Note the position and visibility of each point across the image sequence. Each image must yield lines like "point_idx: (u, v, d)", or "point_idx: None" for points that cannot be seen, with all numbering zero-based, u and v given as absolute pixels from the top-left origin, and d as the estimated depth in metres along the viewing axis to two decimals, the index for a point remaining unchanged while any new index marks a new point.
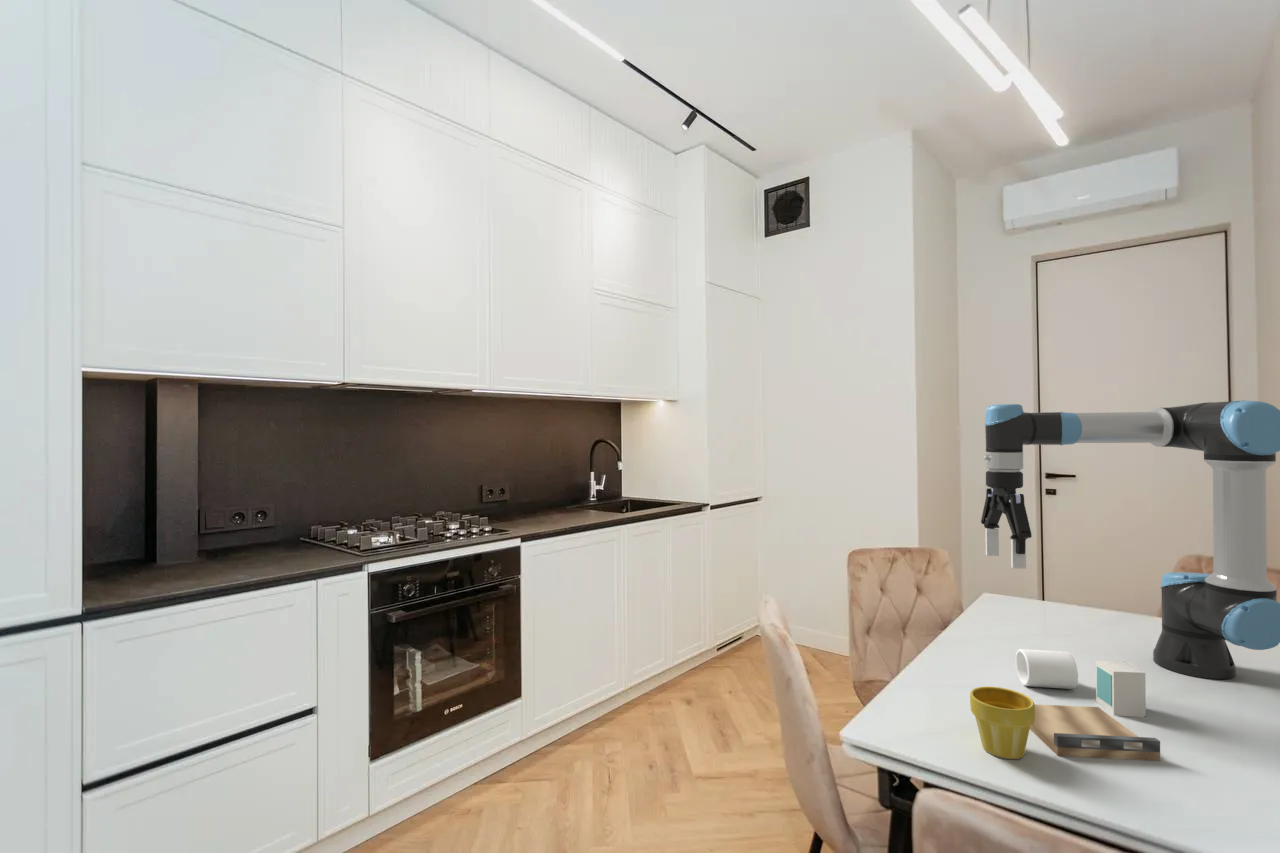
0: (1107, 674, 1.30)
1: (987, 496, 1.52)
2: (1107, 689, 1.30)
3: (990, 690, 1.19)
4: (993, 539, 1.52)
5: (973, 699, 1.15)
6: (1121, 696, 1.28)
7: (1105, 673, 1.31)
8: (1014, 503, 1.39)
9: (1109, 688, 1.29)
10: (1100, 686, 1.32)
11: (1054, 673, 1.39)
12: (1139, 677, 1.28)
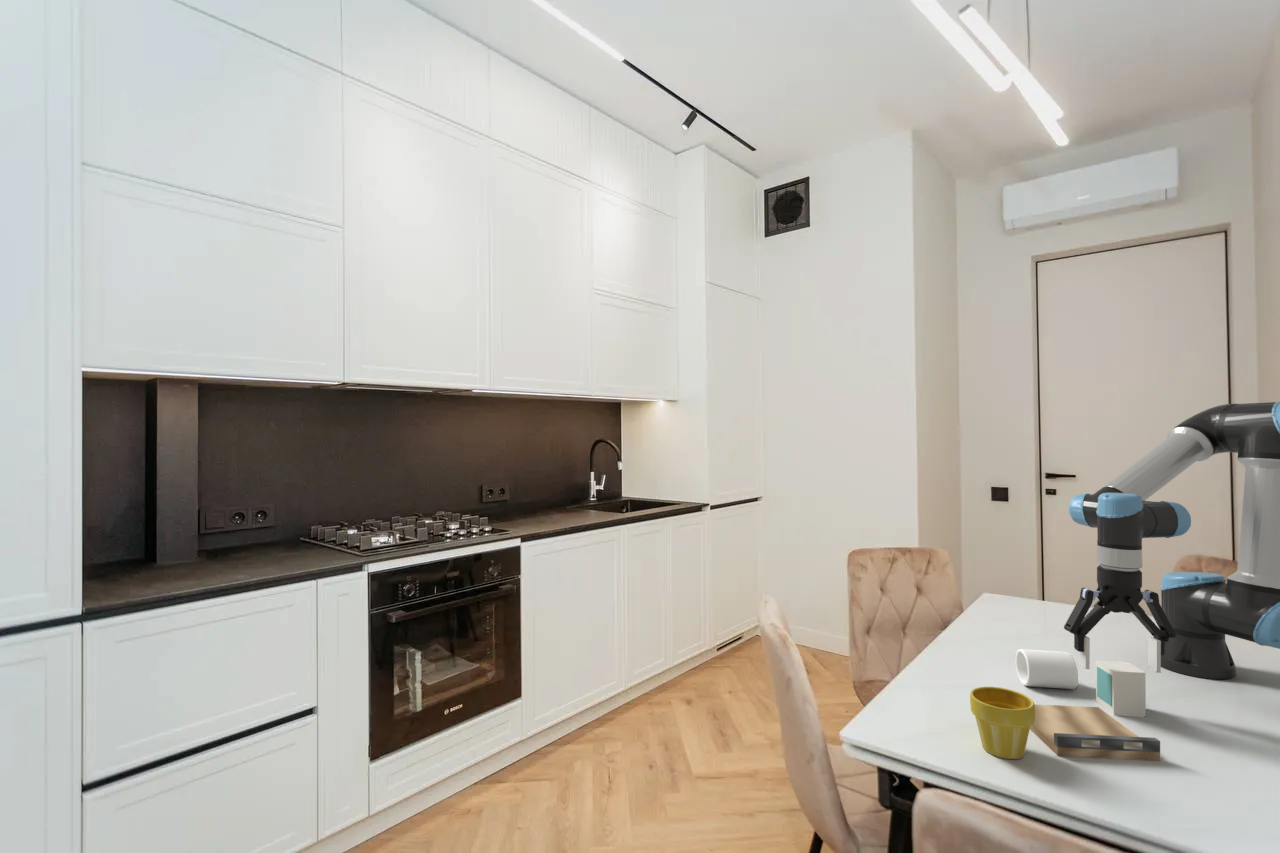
0: (1107, 674, 1.30)
1: None
2: (1107, 689, 1.30)
3: (990, 690, 1.19)
4: (1152, 651, 1.30)
5: (973, 699, 1.15)
6: (1121, 696, 1.28)
7: (1105, 673, 1.31)
8: (1080, 597, 1.32)
9: (1109, 688, 1.29)
10: (1100, 686, 1.32)
11: (1055, 673, 1.39)
12: (1139, 677, 1.28)
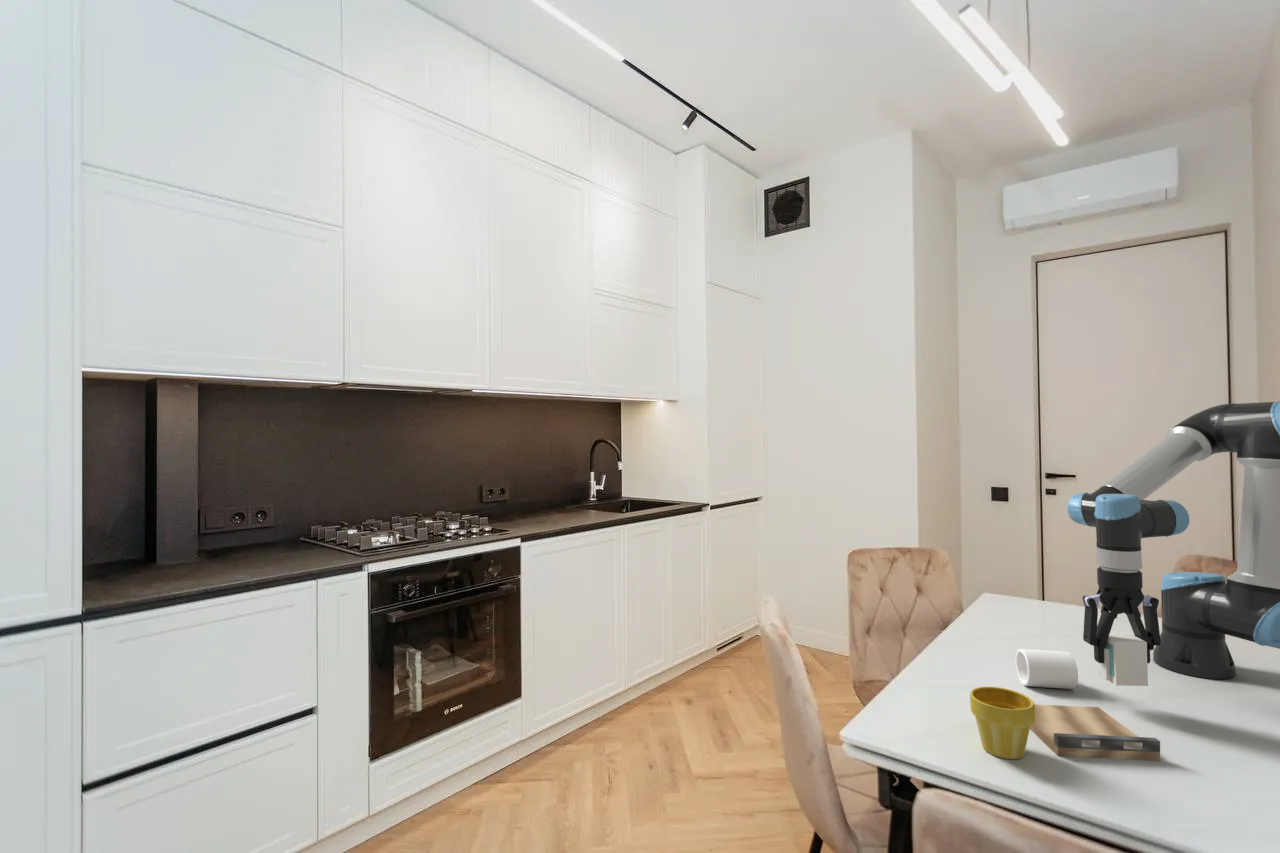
0: (1108, 645, 1.30)
1: None
2: None
3: (990, 690, 1.19)
4: None
5: (973, 699, 1.15)
6: (1122, 666, 1.28)
7: (1106, 644, 1.31)
8: (1085, 606, 1.32)
9: (1111, 658, 1.29)
10: None
11: (1055, 673, 1.39)
12: (1141, 647, 1.28)
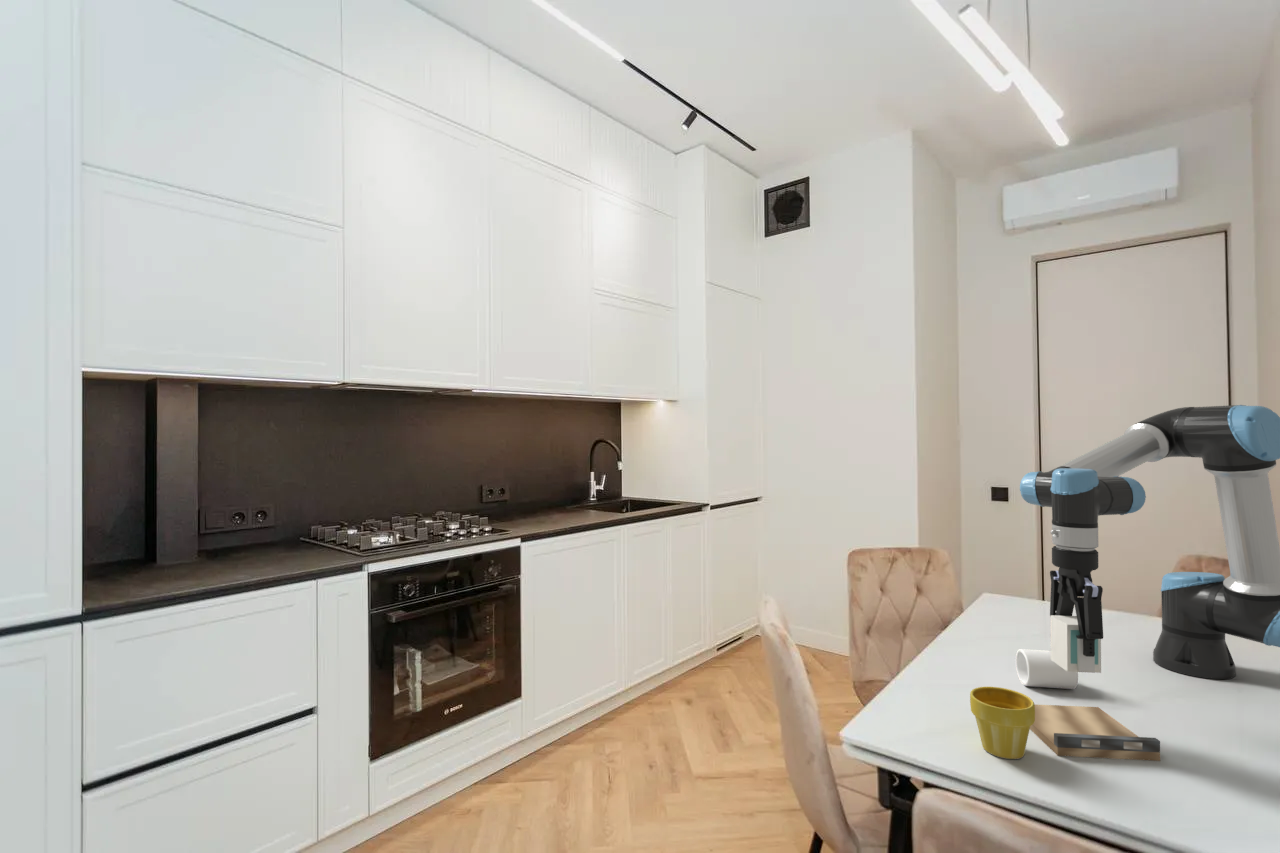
0: None
1: (1052, 580, 1.28)
2: None
3: (990, 690, 1.19)
4: None
5: (973, 699, 1.15)
6: None
7: None
8: (1089, 597, 1.16)
9: None
10: None
11: (1055, 673, 1.39)
12: None
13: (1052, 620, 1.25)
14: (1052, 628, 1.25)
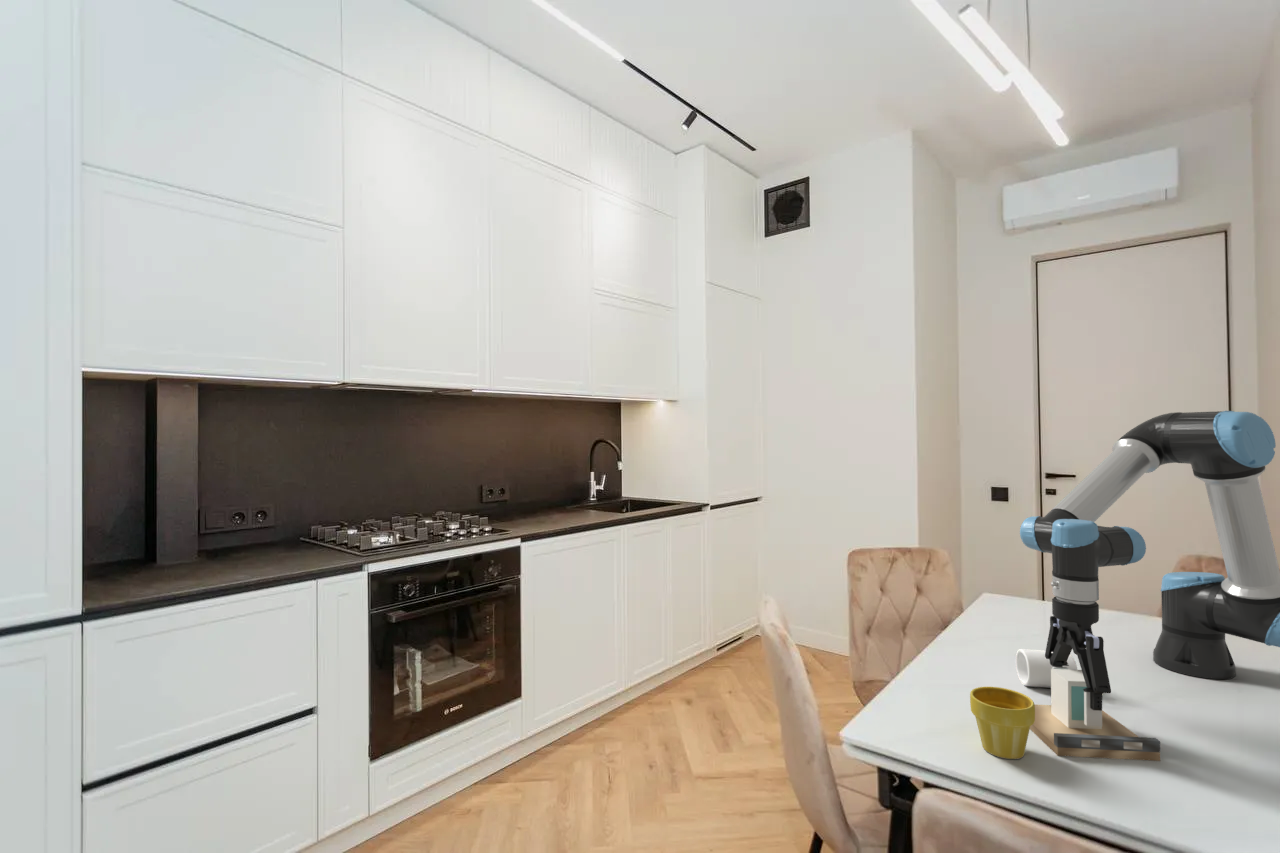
0: None
1: (1052, 625, 1.29)
2: None
3: (990, 690, 1.19)
4: None
5: (973, 699, 1.15)
6: None
7: None
8: (1091, 649, 1.16)
9: None
10: (1078, 706, 1.20)
11: None
12: None
13: (1053, 674, 1.25)
14: (1053, 682, 1.25)
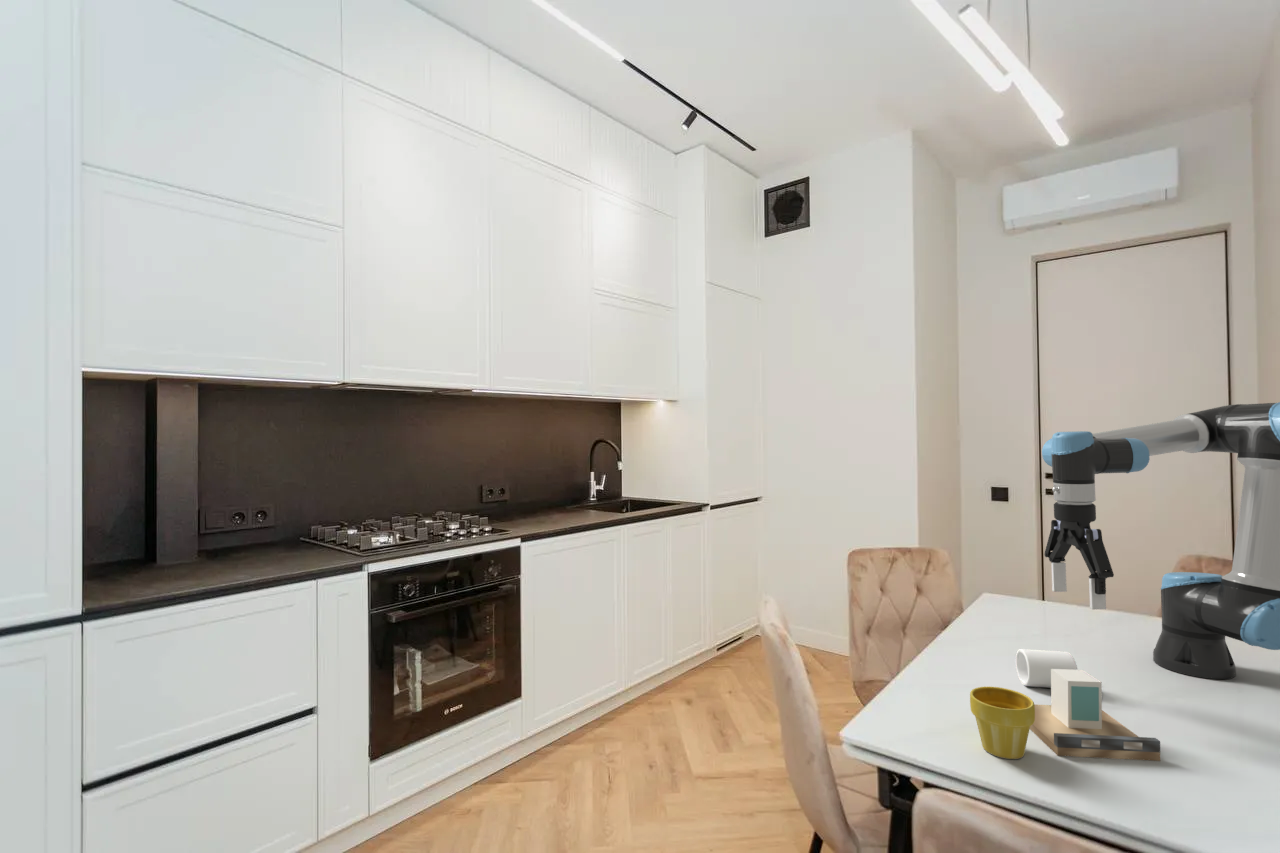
0: (1092, 688, 1.19)
1: (1052, 528, 1.42)
2: (1092, 705, 1.19)
3: (990, 690, 1.19)
4: (1060, 574, 1.42)
5: (973, 699, 1.15)
6: None
7: (1088, 689, 1.19)
8: (1091, 539, 1.29)
9: (1095, 702, 1.19)
10: (1078, 706, 1.20)
11: None
12: None
13: (1053, 674, 1.25)
14: (1053, 682, 1.25)
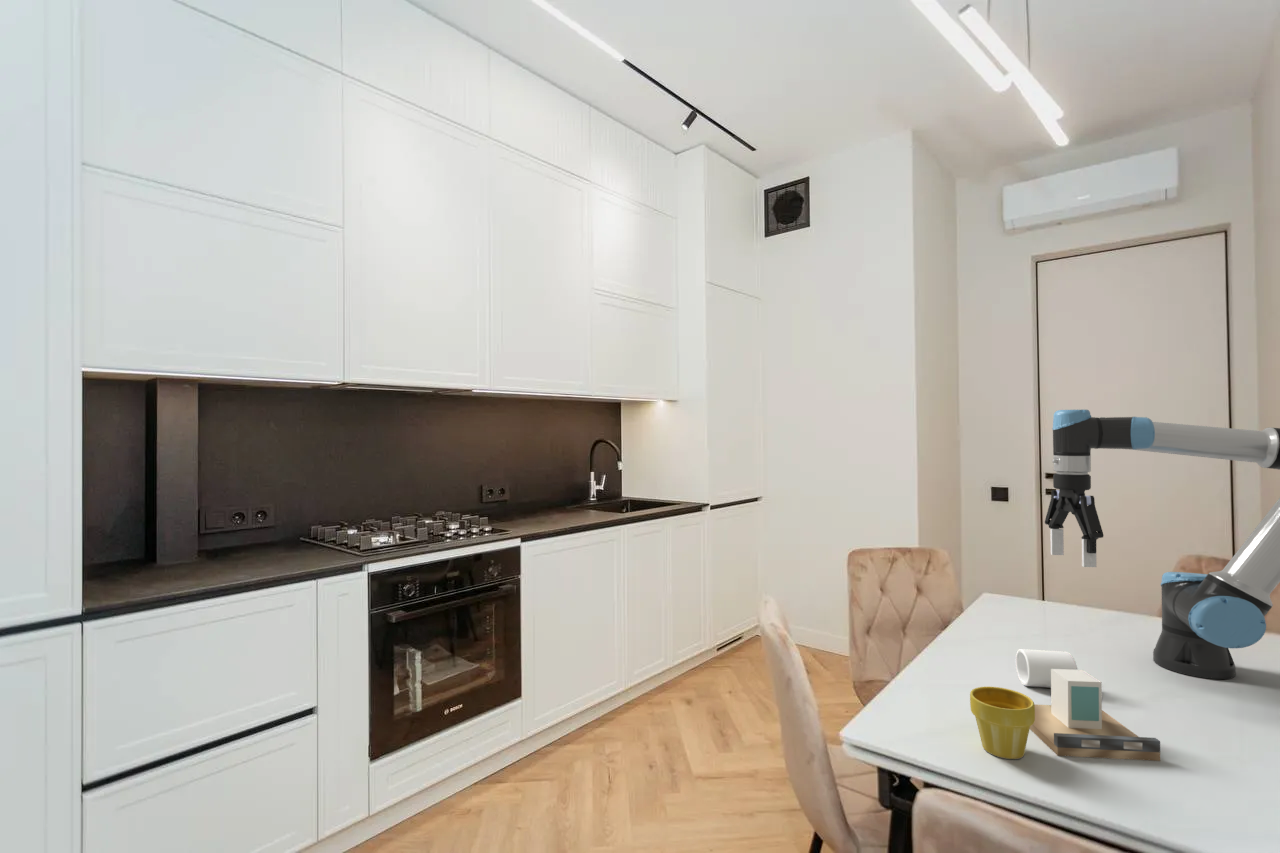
0: (1092, 688, 1.19)
1: (1052, 498, 1.58)
2: (1092, 705, 1.19)
3: (990, 690, 1.19)
4: (1058, 539, 1.58)
5: (973, 699, 1.15)
6: None
7: (1088, 689, 1.19)
8: (1085, 504, 1.45)
9: (1095, 702, 1.19)
10: (1078, 706, 1.20)
11: None
12: None
13: (1053, 674, 1.25)
14: (1053, 682, 1.25)
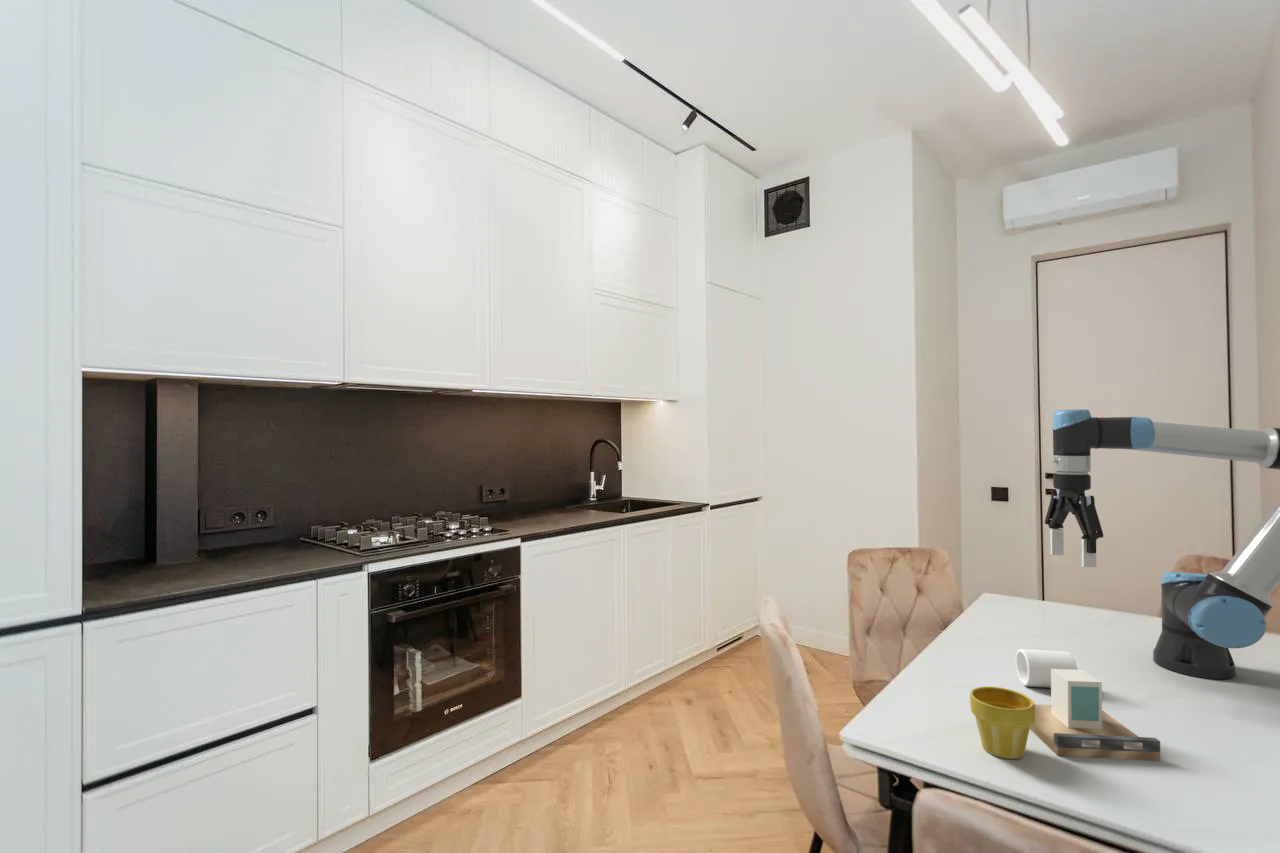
0: (1092, 688, 1.19)
1: (1052, 497, 1.58)
2: (1092, 705, 1.19)
3: (990, 690, 1.19)
4: (1058, 539, 1.58)
5: (973, 699, 1.15)
6: None
7: (1088, 689, 1.19)
8: (1085, 504, 1.45)
9: (1095, 702, 1.19)
10: (1078, 706, 1.20)
11: None
12: None
13: (1053, 674, 1.25)
14: (1053, 682, 1.25)
